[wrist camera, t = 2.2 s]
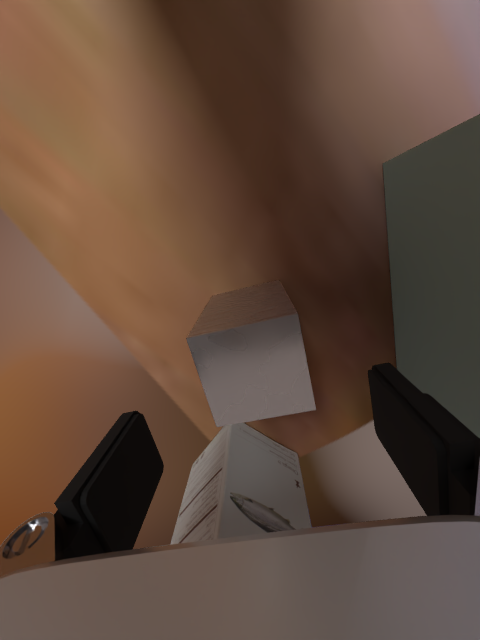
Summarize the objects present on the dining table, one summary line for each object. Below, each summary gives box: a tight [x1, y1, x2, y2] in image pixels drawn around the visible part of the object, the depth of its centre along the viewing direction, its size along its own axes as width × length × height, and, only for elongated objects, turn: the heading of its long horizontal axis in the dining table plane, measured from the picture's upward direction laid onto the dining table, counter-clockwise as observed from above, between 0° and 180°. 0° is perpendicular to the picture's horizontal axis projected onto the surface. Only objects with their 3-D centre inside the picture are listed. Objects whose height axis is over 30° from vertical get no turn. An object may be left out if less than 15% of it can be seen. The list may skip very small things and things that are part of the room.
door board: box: [383, 114, 480, 438], centre depth 14 cm, size 20×2×10 cm, turn 14°
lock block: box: [186, 280, 316, 427], centre depth 16 cm, size 5×5×8 cm
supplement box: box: [171, 423, 312, 544], centre depth 18 cm, size 7×7×13 cm
